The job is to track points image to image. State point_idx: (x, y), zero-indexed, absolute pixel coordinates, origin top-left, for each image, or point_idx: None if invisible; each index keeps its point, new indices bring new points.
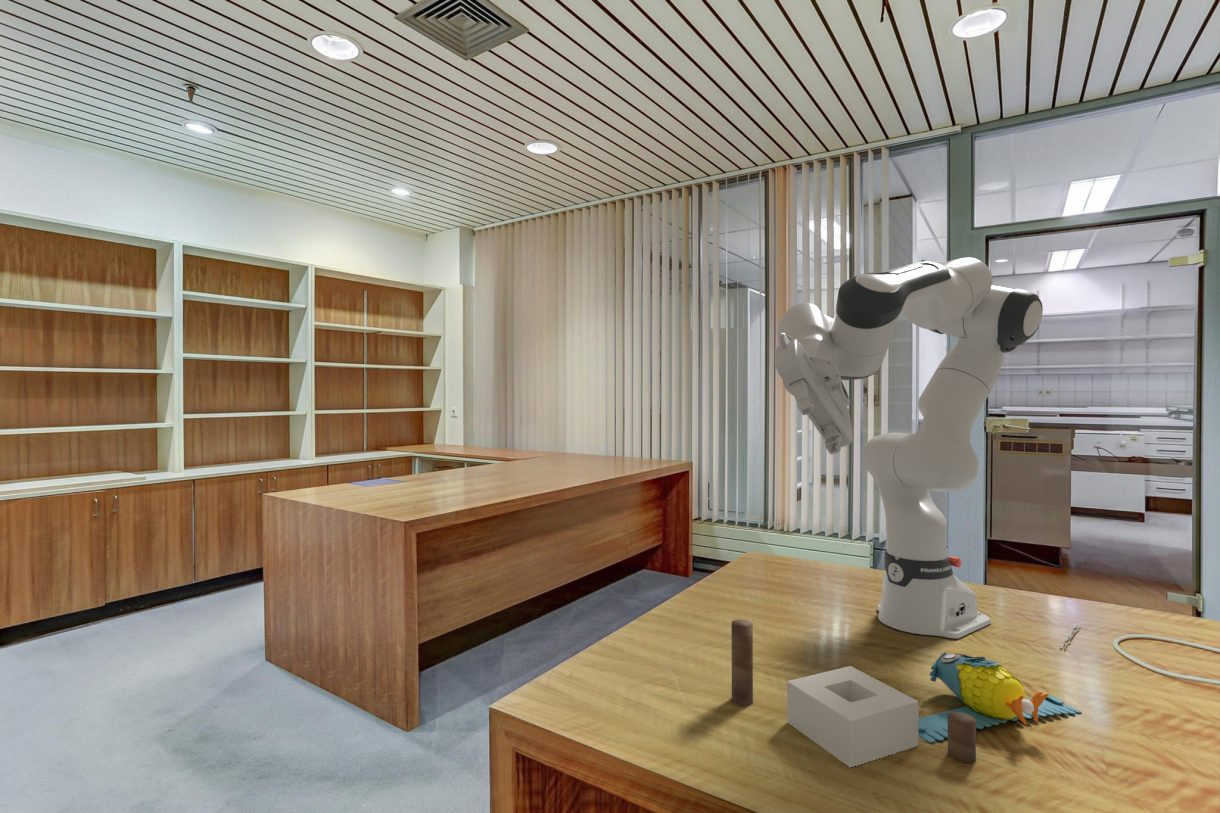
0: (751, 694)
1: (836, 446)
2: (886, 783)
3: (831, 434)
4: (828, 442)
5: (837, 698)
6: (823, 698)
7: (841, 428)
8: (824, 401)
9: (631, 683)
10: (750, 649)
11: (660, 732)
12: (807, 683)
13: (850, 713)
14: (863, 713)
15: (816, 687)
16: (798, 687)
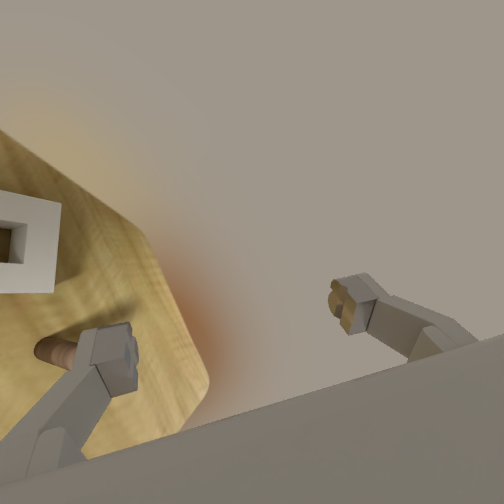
0: (47, 339)
1: (121, 323)
2: (33, 180)
3: (77, 459)
4: (133, 367)
5: (33, 237)
6: (48, 245)
7: (16, 482)
8: (321, 390)
9: (126, 409)
10: (71, 344)
11: (144, 320)
12: (36, 278)
13: (49, 211)
14: (36, 202)
15: (34, 266)
16: (53, 276)
